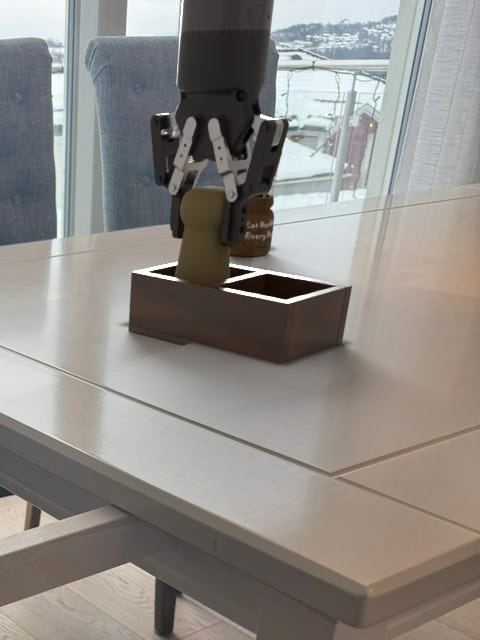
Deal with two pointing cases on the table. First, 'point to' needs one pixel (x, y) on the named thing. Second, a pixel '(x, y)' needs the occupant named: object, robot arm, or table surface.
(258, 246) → the utensil holder
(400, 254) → the table surface
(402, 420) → the table surface
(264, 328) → the holder
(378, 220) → the table surface
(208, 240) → the cork
